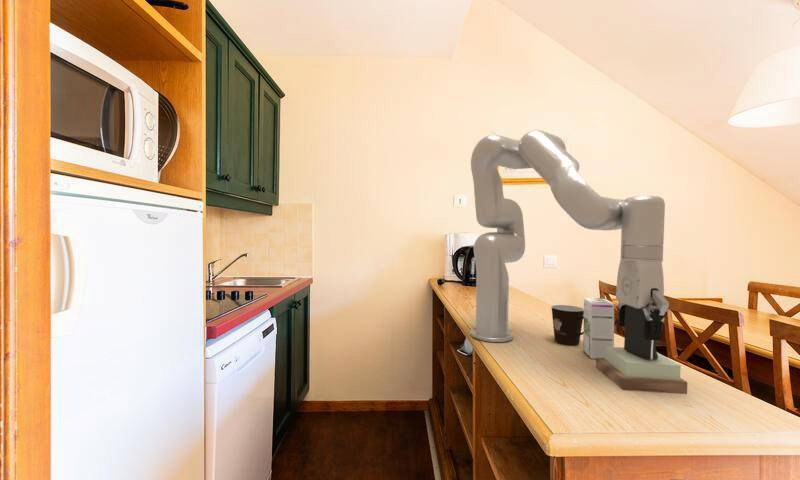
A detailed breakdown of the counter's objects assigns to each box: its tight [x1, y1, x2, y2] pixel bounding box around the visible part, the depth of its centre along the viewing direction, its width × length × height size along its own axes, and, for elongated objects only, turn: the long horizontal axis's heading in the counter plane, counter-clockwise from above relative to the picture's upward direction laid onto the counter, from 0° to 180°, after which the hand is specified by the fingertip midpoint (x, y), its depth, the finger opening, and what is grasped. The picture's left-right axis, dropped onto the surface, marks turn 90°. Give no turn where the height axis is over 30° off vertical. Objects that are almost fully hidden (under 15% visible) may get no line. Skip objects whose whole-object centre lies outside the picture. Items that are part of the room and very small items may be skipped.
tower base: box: [595, 357, 688, 394], centre depth 76 cm, size 12×12×3 cm
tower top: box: [605, 346, 682, 380], centre depth 75 cm, size 10×10×3 cm
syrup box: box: [582, 297, 615, 360], centre depth 90 cm, size 6×6×14 cm
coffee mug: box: [551, 304, 584, 347], centre depth 99 cm, size 12×9×10 cm
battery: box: [623, 305, 664, 360], centre depth 75 cm, size 7×4×11 cm, turn 8°
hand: (638, 332), depth 75 cm, fingers open, 9 cm apart
